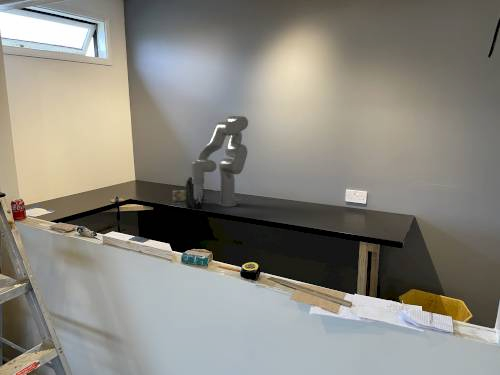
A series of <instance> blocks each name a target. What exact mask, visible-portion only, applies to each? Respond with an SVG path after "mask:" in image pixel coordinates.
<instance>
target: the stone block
mask: <svg viewBox="0 0 500 375" xmlns="http://www.w3.org/2000/svg"><path fill="white" fill-rule="evenodd" d="M185 190H186V197H185V201H184V202H185V205H186V206H185V207H186V209H193V208H195V209H196V200H195V199H194V184H192V176H189V177H188V178H187V180H186V183H185ZM204 199H205V189H204V188H203V199H201V206H202V205H203V204H204V203H205V202H204Z"/></svg>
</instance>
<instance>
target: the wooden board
mask: <svg viewBox="0 0 500 375" xmlns="http://www.w3.org/2000/svg"><path fill="white" fill-rule="evenodd" d="M185 197H186V189H185V190H183V189H182V190H172V202H182V201H184V202H185Z"/></svg>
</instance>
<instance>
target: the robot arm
mask: <svg viewBox="0 0 500 375" xmlns="http://www.w3.org/2000/svg"><path fill="white" fill-rule="evenodd" d="M248 126H249V120H248V118H247V117H246V116H243V115H230V116H228V117H227V118H226V119H225V121H221V122H220V121H219V122H218V123H216V125H215V127H214V130H213V132H212V134H211V135H212V136H211V138H210V140H209V142H208V144H206V145H205V146H204V148H203V149H202V150H201V151H200V153H199V155H198V157H197V160H194V161H192V162H191V177H192V184H194V199H195V200H196V207H195V209H196V210H202V205H201V199H203V189H204V184H205V173H212V172H215V171H216V169H217V163H216V161H214V160H212V159H209V157H210V156H211V155H212V154H213V153H215V152H216V151H218V150H221V149H222V148H223V145H224V142H225V140H226V138H227V137H228V138H229V139H228V140H227V141H228V142H227V144H226V148H225V154H226V156H227V157H229V158H226V157H225V158H222V159H221V160H220V162H219V164H218V169H219V176H220V200H219V202H218V203H217V204H218V206H220V207H226V208H227V207H235V206H237V205H238V204H237V202H238V203H239V202H240V203H241V202H242V198H236V197H235V191H236V190H235V185H236V184H235V181H236V180H235V175H239V174H241V173H242V172H243V170H244V167H245V163H246V160H247V157H248V147H247V146H246V145H245V144H244V143H243V144H242V139H243V133H242V131H244V130H246V129H247V128H248Z"/></svg>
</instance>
